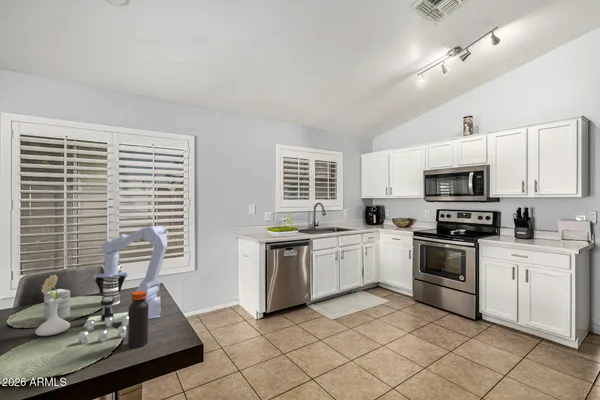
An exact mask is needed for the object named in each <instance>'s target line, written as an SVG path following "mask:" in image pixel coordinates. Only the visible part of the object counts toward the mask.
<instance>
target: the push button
mask: <svg viewBox="0 0 600 400" xmlns="http://www.w3.org/2000/svg"><path fill="white" fill-rule="evenodd" d="M100 303H101V306H102V313H101V315H100V316H101V318H97V319H101V320H97V321H102V322H103V321H105V318H106V317H109V316H112V317H113V314H114V313H113V305H112V304H113V303H114V299H112V297H107V298H104V299H103V300H102V299H101V301H100Z"/></svg>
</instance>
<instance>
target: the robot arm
mask: <svg viewBox="0 0 600 400" xmlns="http://www.w3.org/2000/svg"><path fill="white" fill-rule="evenodd" d="M168 233H169V231H168V230H167V229H166V227H165V226H164V225H155V226H146V227H143V228H142V227H141V228H140V229H139V230H136V231H135V232H133V233H131V234H129V235H128V234H123V233H122V234H119V236H118V237H115V238H112V240H107V241H104V242H103V243H102V245H101V250H102V252H103V253H104V260H105V262H104V261H103V266H104V273H103V274H102V273H95V274H93V280H95V283H96V285H97V287H98V290H99V293H100V294H101V295H102V294H103V281H104V278H113V277H120V278H118V284H119V287H118V292H120V293H121V292H122V288H123V283H124V282H125V280H126V278H128V276H129V273H128V271H127V272H126V271H125V272H122V271H121V272H118V258H119V254H120V250H121V249H124V248H125V247H128V246H130V245H131V244H132V242H134V241H136V240H138V239H141V238H143V239H145V240H146V241H147V242H148V243H149V244H150V245H151V246H153V250H152V252H151V256H150V259H149V264H148V267H147V270H146V274H145V277H144V279H143V280H142V281H140V284H139V285H138V287H137V288H136V290H135V292H137V291H146V299H145V301H146V302H147V303H148V320H151V319H158V318H161V312H162V308H161V296H158V293H159V291H160V283H161V281H160V280H159V279H158V277H159V275H160V271H161V268H162V265H163V261H164V258H165V255H166V252H167V247H168V237H167V236H168Z"/></svg>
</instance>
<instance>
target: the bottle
mask: <svg viewBox="0 0 600 400" xmlns="http://www.w3.org/2000/svg"><path fill="white" fill-rule="evenodd" d="M145 299H146V291H137V292H136V291H134V292H132V293H131V301H132V302H131V304H129V307H128V315H129V320H128V326H127V327H128V328H127V331H128V333H127V346H128V348H132V349H134V348H135V349H136V348H141V347H144V346H145V345H147V344H148V341H149V339H148V338H149V319H148V303H147V302H146V301H145Z"/></svg>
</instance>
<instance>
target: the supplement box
mask: <svg viewBox="0 0 600 400" xmlns="http://www.w3.org/2000/svg"><path fill="white" fill-rule="evenodd" d="M56 290H57V293H59V294H58V298H62V299H61V300H60V302H59V304H58V307H57V316H58V317H59V318H61V319H63V320H64V319H66V318H69V317H70V316H71V315H70V312H71V290H69V289H63V288H58V289H56ZM51 291H52V292H54V293H56V291H55V289H54V290H51ZM49 293H50V291H49V292H48V293H44V294H43V296H44V297H43V298H44V299H43V320H45V321H47V320H48V319H49V317H50V306H49V304H48V303H47V302H46V301H47V300H49V299H53V298H55V297H53V296H51V295H50V294H49Z"/></svg>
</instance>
